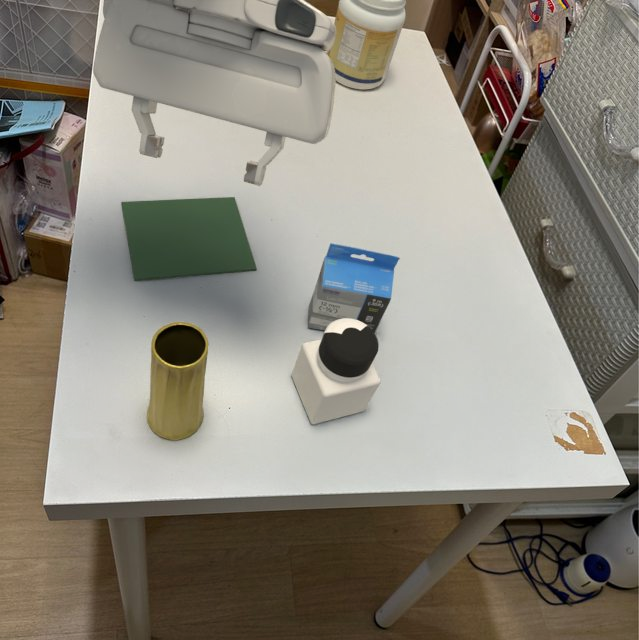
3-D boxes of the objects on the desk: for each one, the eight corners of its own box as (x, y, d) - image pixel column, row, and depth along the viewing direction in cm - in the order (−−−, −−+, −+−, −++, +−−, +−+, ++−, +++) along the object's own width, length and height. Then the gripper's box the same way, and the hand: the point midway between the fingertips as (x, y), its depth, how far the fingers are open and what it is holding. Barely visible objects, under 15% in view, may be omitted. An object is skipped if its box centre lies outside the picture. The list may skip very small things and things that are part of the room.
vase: (206, 394, 69) (217, 322, 58) (199, 443, 66) (208, 376, 54) (152, 387, 68) (152, 312, 57) (141, 437, 65) (139, 367, 54)
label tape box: (306, 328, 78) (328, 266, 69) (308, 304, 81) (329, 240, 71) (371, 340, 79) (402, 280, 70) (372, 316, 82) (401, 255, 72)
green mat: (134, 281, 77) (134, 279, 76) (121, 203, 84) (121, 201, 84) (256, 270, 82) (256, 268, 82) (234, 198, 89) (234, 196, 89)
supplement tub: (340, 48, 122) (362, -41, 108) (393, 74, 120) (423, -13, 107) (312, 73, 114) (333, -19, 101) (369, 100, 113) (398, 11, 100)
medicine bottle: (364, 411, 73) (396, 358, 63) (310, 426, 70) (335, 372, 60) (342, 362, 76) (369, 305, 67) (290, 374, 73) (310, 316, 64)
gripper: (90, -43, 46) (71, 140, 51) (350, 26, 46) (307, 203, 50) (123, -25, 52) (103, 137, 56) (353, 36, 52) (314, 194, 56)
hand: (201, 169), depth 53 cm, fingers open, 8 cm apart
